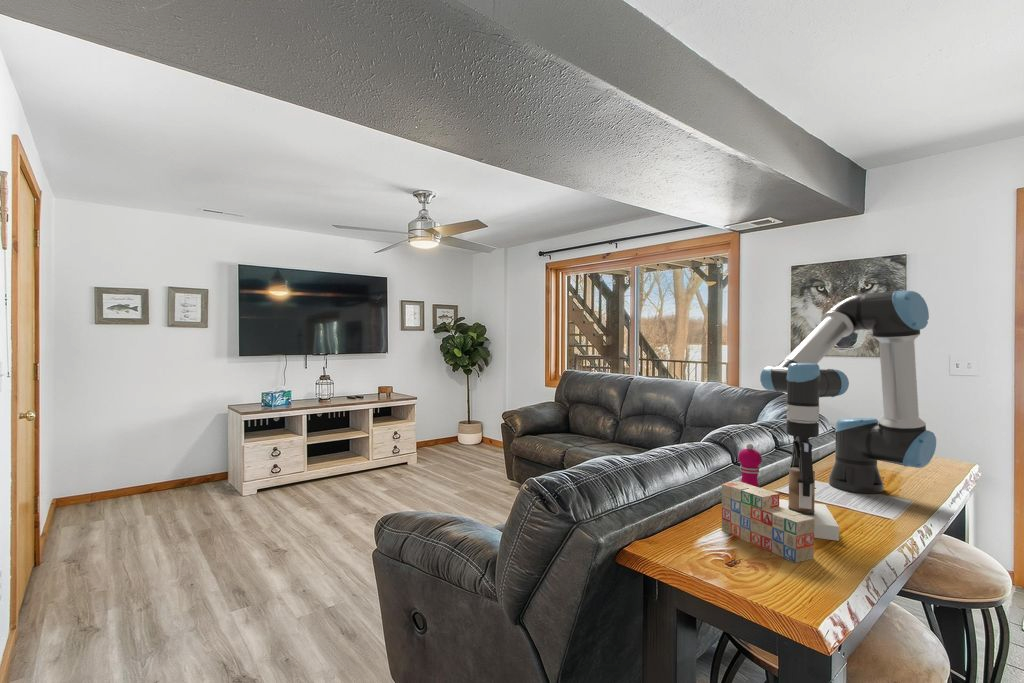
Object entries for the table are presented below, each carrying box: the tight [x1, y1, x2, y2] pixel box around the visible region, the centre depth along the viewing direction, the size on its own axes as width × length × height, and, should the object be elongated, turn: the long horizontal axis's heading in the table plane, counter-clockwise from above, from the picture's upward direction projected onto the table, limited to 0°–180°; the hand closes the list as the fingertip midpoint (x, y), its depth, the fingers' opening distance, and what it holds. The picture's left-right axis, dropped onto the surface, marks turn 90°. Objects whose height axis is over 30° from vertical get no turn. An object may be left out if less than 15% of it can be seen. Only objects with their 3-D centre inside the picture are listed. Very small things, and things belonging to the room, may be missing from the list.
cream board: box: [779, 498, 840, 542], centre depth 136 cm, size 14×18×4 cm
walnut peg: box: [788, 467, 816, 515], centre depth 136 cm, size 6×6×14 cm
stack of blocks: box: [721, 480, 815, 564], centre depth 123 cm, size 21×6×12 cm, turn 24°
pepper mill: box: [737, 443, 762, 488], centre depth 143 cm, size 7×7×20 cm
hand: (801, 500), depth 136 cm, fingers open, 13 cm apart
